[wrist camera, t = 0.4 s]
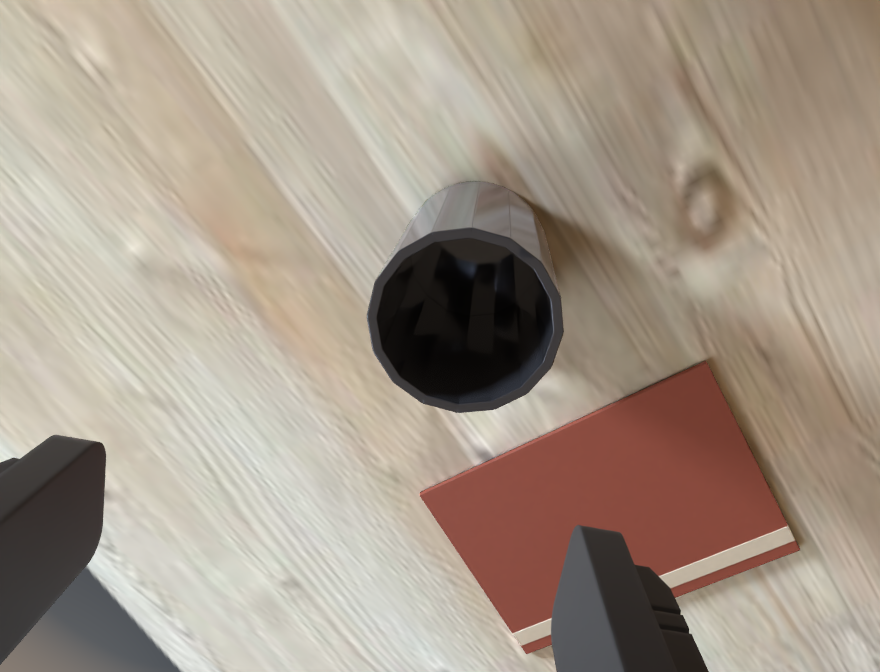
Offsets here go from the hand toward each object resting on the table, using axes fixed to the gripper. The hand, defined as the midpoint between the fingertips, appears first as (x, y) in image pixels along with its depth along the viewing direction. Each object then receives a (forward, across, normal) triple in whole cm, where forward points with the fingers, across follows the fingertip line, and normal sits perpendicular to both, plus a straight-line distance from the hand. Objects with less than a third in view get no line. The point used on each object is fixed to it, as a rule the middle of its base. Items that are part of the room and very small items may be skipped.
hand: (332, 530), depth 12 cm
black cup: (+22, -2, -2) cm, 23 cm away
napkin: (+23, -12, +11) cm, 29 cm away
